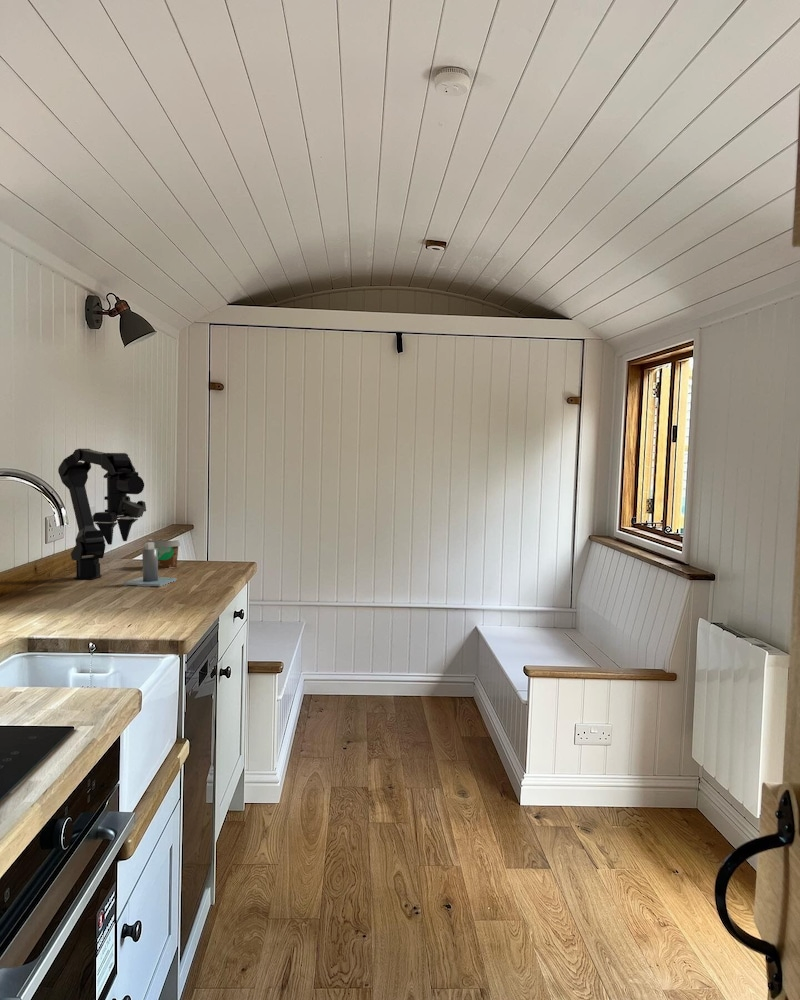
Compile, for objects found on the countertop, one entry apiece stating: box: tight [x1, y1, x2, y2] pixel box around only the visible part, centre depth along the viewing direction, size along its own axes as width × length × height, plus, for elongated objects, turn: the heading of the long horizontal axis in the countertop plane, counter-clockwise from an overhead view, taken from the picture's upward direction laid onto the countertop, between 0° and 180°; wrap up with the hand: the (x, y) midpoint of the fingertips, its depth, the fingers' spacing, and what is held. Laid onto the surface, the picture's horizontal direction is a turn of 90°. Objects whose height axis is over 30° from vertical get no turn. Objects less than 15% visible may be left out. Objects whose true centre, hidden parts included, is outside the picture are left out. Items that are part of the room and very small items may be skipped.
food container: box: [147, 538, 181, 568], centre depth 276 cm, size 12×6×10 cm, turn 73°
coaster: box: [123, 576, 178, 587], centre depth 246 cm, size 12×12×1 cm
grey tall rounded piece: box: [141, 542, 159, 582], centre depth 246 cm, size 5×5×12 cm
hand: (117, 542), depth 243 cm, fingers open, 9 cm apart
